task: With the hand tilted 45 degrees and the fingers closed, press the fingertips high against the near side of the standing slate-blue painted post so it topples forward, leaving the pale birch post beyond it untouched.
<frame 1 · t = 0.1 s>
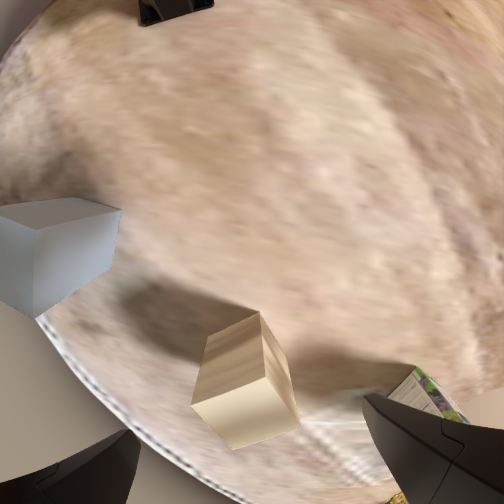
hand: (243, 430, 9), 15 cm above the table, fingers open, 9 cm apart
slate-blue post: (91, 231, 22), on the table
frog figurine: (402, 503, 34), on the table
birch post: (247, 346, 24), on the table
syrup box: (409, 392, 27), on the table
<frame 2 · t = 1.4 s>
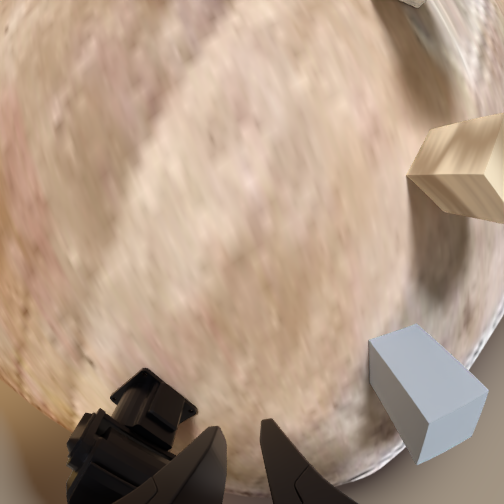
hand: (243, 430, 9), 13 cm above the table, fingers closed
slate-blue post: (393, 354, 23), on the table
birch post: (438, 170, 20), on the table
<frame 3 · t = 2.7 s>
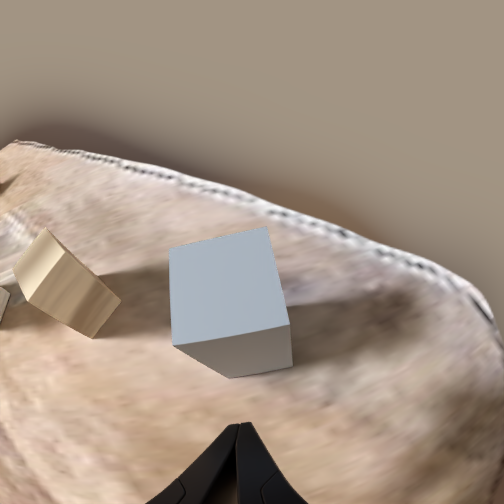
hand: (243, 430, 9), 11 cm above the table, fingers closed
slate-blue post: (255, 342, 22), on the table
birch post: (93, 306, 26), on the table
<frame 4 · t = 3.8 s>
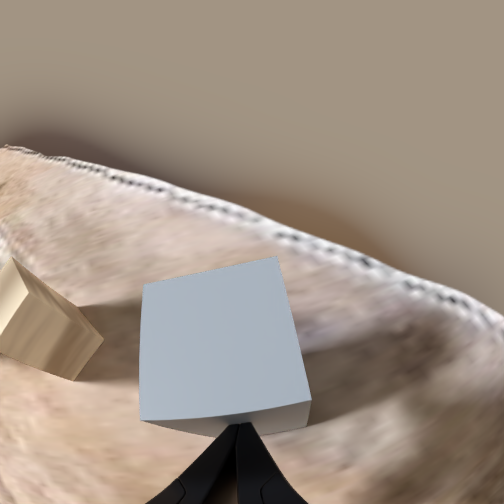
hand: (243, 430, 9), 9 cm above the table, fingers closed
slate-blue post: (260, 398, 17), on the table, tilted 7°
birch post: (74, 342, 21), on the table
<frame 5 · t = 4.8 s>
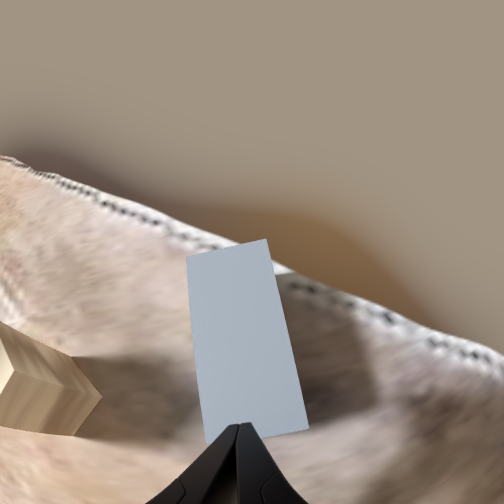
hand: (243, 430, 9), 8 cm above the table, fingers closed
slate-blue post: (262, 435, 14), point 2 cm above the table, tilted 90°
birch post: (70, 396, 18), on the table
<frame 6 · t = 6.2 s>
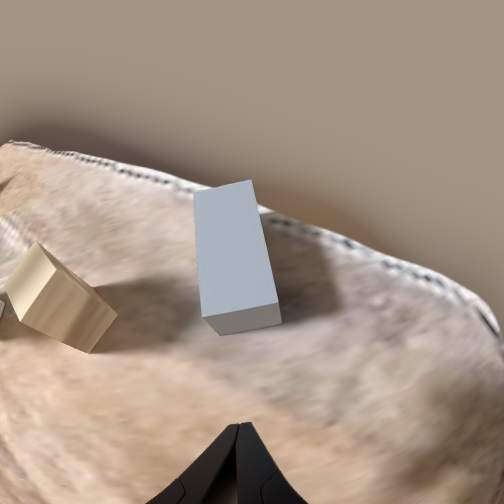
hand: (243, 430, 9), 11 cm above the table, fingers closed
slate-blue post: (246, 321, 20), point 2 cm above the table, tilted 90°
birch post: (89, 319, 25), on the table
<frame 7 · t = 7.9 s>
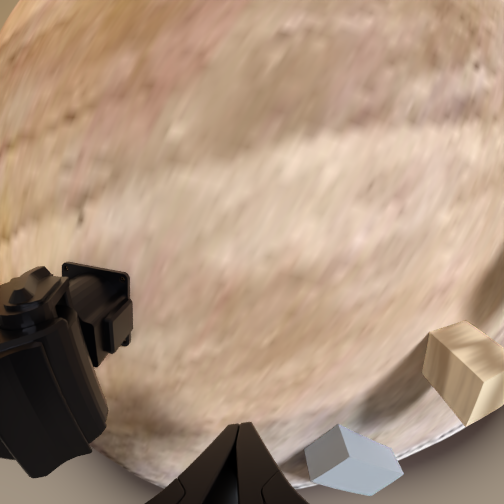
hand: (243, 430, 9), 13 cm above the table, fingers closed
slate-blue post: (324, 452, 23), point 2 cm above the table, tilted 90°
birch post: (444, 347, 23), on the table
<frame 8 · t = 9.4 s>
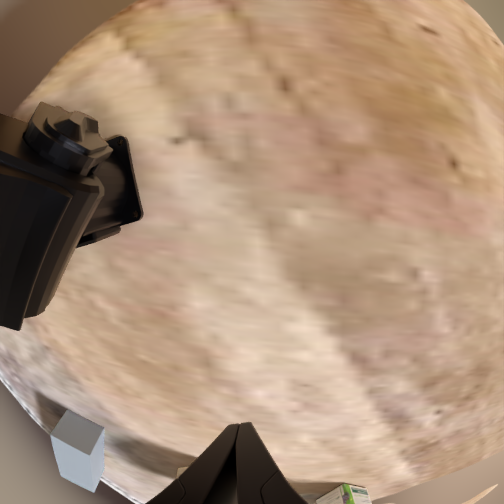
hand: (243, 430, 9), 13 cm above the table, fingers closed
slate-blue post: (77, 430, 23), point 2 cm above the table, tilted 90°
syrup box: (340, 493, 29), on the table
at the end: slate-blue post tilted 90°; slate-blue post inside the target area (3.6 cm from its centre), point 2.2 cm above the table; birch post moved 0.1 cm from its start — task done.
